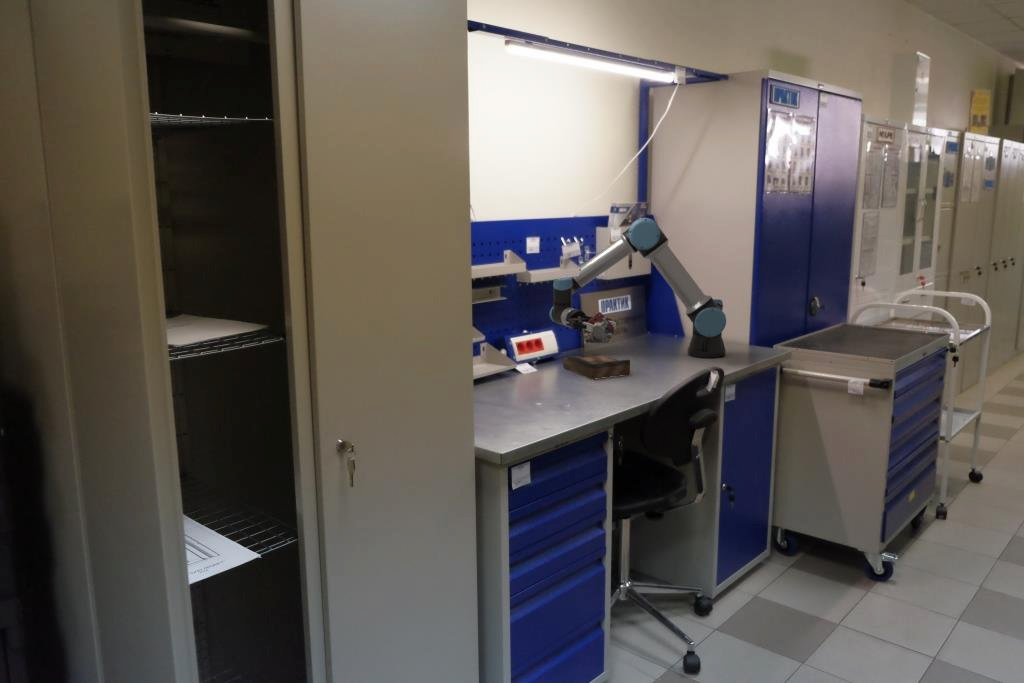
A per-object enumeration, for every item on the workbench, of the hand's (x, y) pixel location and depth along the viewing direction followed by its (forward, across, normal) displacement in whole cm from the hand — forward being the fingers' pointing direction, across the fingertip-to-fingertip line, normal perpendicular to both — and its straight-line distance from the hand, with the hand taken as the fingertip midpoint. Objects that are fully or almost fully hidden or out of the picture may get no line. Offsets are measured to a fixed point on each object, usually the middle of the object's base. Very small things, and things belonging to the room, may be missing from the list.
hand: (603, 327), depth 273 cm
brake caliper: (-3, 0, -6) cm, 7 cm away
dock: (-5, 0, -18) cm, 19 cm away
